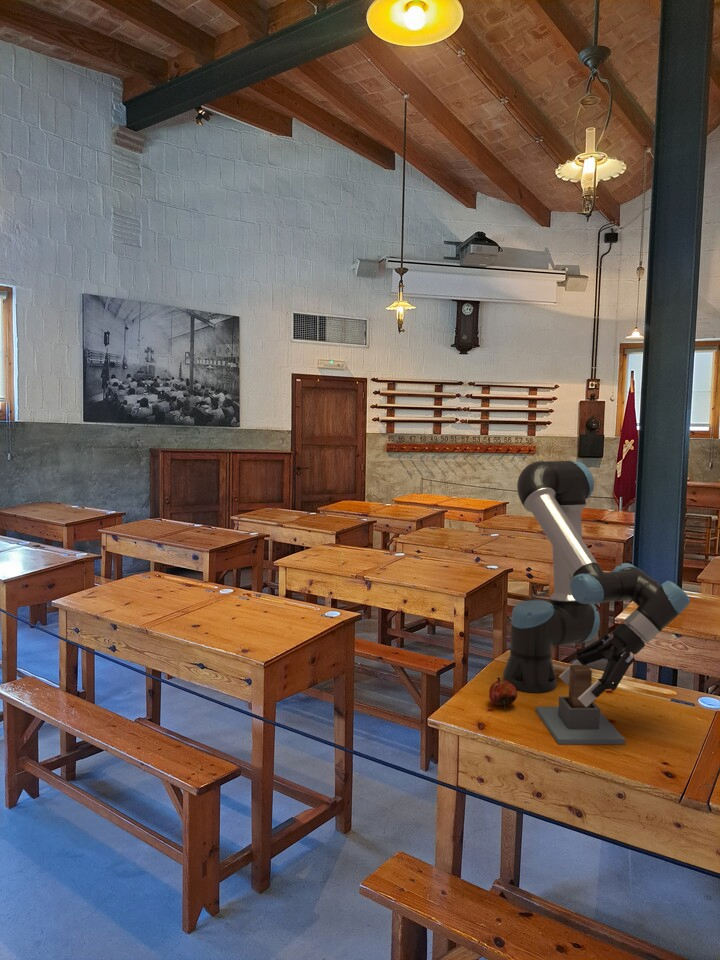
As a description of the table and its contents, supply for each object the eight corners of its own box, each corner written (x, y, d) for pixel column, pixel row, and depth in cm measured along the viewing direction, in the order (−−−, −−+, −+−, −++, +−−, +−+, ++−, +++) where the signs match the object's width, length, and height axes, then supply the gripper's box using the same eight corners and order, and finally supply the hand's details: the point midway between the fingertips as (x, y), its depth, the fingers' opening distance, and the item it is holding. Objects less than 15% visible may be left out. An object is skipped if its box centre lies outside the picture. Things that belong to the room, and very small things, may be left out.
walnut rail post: (567, 718, 169) (570, 664, 168) (583, 718, 169) (585, 664, 168) (573, 725, 165) (575, 670, 164) (589, 725, 165) (592, 670, 164)
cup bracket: (535, 711, 176) (536, 688, 175) (595, 711, 177) (596, 688, 176) (558, 744, 158) (559, 719, 157) (624, 744, 159) (626, 719, 158)
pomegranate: (519, 718, 176) (515, 684, 184) (519, 704, 172) (515, 670, 179) (491, 719, 178) (487, 685, 185) (490, 705, 173) (486, 671, 180)
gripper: (669, 661, 153) (601, 724, 154) (622, 627, 178) (564, 681, 179) (648, 639, 153) (580, 702, 154) (604, 608, 178) (546, 662, 178)
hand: (571, 691), depth 166 cm, fingers open, 13 cm apart
